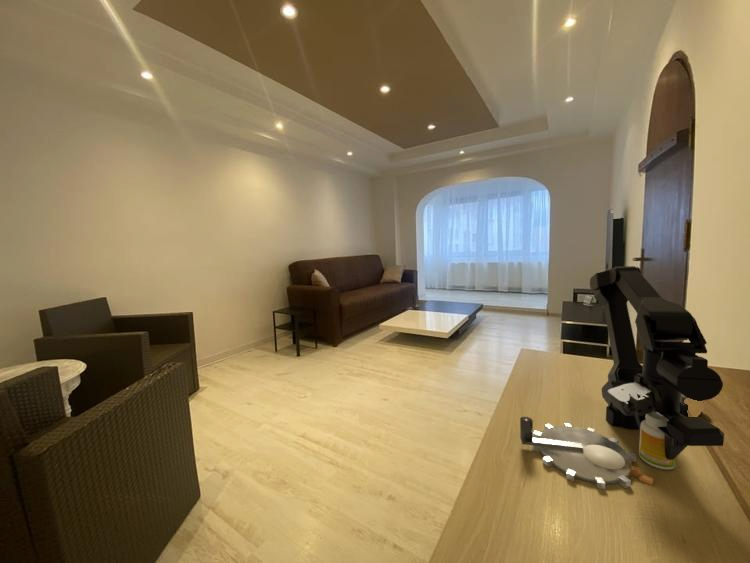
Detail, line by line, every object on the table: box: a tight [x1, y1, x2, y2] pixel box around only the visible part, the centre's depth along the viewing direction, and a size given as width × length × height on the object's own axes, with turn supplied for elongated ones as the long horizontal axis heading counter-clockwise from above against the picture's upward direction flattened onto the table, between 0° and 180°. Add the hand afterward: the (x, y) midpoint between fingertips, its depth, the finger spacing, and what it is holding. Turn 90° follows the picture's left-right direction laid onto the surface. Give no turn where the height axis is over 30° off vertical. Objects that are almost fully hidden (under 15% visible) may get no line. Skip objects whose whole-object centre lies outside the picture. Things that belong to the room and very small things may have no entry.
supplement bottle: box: [638, 411, 677, 471], centre depth 61 cm, size 5×5×10 cm
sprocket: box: [519, 416, 641, 490], centre depth 65 cm, size 18×20×6 cm
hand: (657, 448), depth 61 cm, fingers closed on supplement bottle, 5 cm apart
